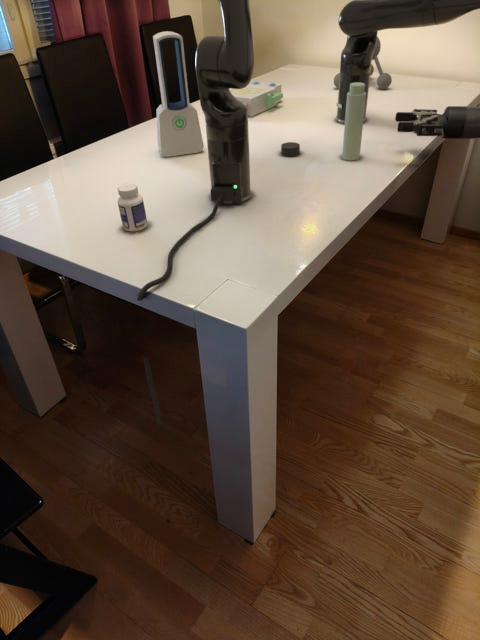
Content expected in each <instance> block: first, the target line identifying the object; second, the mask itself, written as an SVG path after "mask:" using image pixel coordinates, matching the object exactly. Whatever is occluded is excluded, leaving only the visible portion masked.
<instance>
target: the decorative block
mask: <svg viewBox="0 0 480 640" xmlns="http://www.w3.org/2000/svg"><path fill="white" fill-rule="evenodd" d="M229 90H230V92H231V93H232V95H233V96H234V97H235V98H236V99H238V100H239V101H240V102H242V103H243V104H245V105H246V107H247V110H248V117H250V118H251V117H252V118H253V117H254V116H256V115H258V114H260V113H263V112H265V111H268V110H270V109H272V108H274V107H276V106H277V104H278V103H280V102H282V99H284V93H282V83H281V84H280V83H275V82H261V81H257V80H254V81H253V82H250V83H249V84H248V86H247V87H245V88H243V89H232V88H230V89H229Z"/></svg>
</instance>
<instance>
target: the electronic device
mask: <svg viewBox="0 0 480 640" xmlns="http://www.w3.org/2000/svg"><path fill="white" fill-rule="evenodd" d="M152 40H153V48H154V54H155V61H156V70H157V76H158V83H159V92H160V98H161V103H160V104H159V106H158V107H157V108H156V113H155V114H156V134H157V137H156V138H157V147H158V149H159V152H160V154H162V155H163V156H164V157H166V158H168V157H176V156H182V155H190V154H191V155H192V154H197V153H201V152H202V150H203V149H204V147H205V146H204V141H203V140H204V139H203V135H202V129H201V125H200V124H201V123H200V120H199V113H198V109H196V108H195V106H194V105H193V104H192V103H191V102H190V95H189V87H188V86H189V84H188V78H187V77H188V76H187V75H188V74H187V67H186V58H185V49H184V38H183V36H182V35H181V34H179V33H177V32H174V31H169V30H166V31H161V32H160V31H159V32H157V33H155V34H154V35H152ZM167 41H174V48H175V49H174V50H175V56H176V65H177V75H178V82H179V91H180V100H179V101H176V102H170V100H169V99H170V98H169V92H168V84H167V83H168V82H167V77H166V69H165V61H164V54H163V53H164V51H163V46H162V43H163V42H167Z"/></svg>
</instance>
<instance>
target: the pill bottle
mask: <svg viewBox="0 0 480 640" xmlns="http://www.w3.org/2000/svg"><path fill="white" fill-rule="evenodd" d="M117 193H118V196H119V197H118V199H117V206H118V210H119V211H118V212H119V215H120V219H121V224H122V227H123V229H124V230H125V231H128V232H138V231H141V230H144V229H146V227H147V226H148V217H147V214H146V208H145V203H144V198H143V196H142V195H141V194H139V188H138V185H137V184H135V183H132V182H131V183H123V184H121V185H119V186H118V187H117Z"/></svg>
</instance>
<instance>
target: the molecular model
mask: <svg viewBox="0 0 480 640" xmlns="http://www.w3.org/2000/svg"><path fill="white" fill-rule="evenodd" d="M381 45H382V44H381V40H380V38H379V37H378V36H377V39H376V46H375V49H374V52H373V55H372V61H374V63H375V66H376V69H377V71H378V74H379V75H378V76H377V78H376V85H377V87H378V88H380V89H381V90H385V89H387V88H389V87H390V86H391V84H392V82H393V78H392V76H391V74H390V73H388V72H384V71H383V68H382V66H381V63H380V60H379V57H378V55H380V51H381ZM374 70H375V68H374V65H373V64H372V63H371V71H370V77H372V76H373V74H374V72H375V71H374ZM339 79H340V72H338V73H337V74H335V76H334V77H333V85H334V87H335V88H337V89H339Z"/></svg>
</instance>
